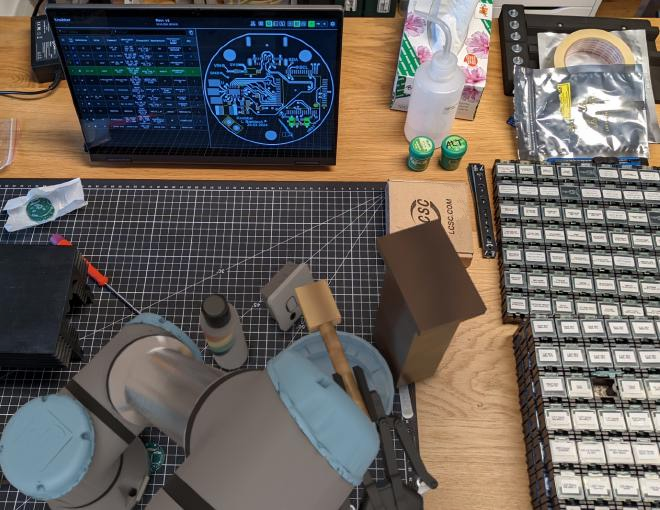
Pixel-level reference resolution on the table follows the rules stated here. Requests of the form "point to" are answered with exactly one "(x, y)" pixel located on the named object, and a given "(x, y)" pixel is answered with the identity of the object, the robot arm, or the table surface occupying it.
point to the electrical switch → (286, 293)
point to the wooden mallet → (328, 331)
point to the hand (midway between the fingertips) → (347, 371)
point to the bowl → (351, 362)
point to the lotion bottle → (223, 331)
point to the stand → (421, 300)
